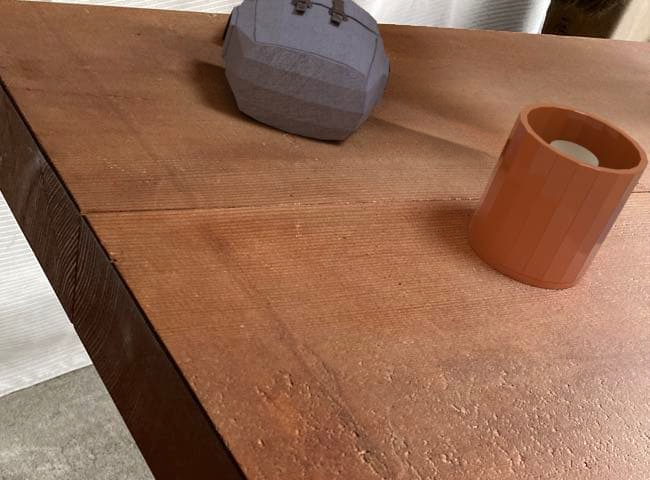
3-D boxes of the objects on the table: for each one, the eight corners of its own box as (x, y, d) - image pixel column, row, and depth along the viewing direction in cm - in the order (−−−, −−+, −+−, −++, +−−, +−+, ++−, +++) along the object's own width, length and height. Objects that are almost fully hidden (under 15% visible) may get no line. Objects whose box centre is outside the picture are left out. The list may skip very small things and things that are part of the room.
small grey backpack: (371, 160, 85) (374, 70, 99) (405, 64, 79) (403, -18, 93) (202, 111, 84) (228, 26, 97) (224, 9, 78) (249, -66, 91)
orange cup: (578, 239, 85) (639, 129, 77) (588, 303, 78) (656, 188, 70) (466, 204, 84) (518, 89, 77) (466, 265, 77) (522, 145, 70)
